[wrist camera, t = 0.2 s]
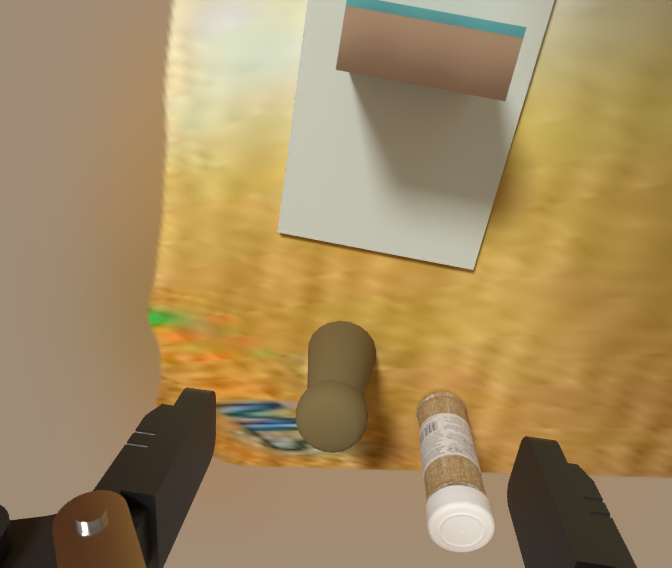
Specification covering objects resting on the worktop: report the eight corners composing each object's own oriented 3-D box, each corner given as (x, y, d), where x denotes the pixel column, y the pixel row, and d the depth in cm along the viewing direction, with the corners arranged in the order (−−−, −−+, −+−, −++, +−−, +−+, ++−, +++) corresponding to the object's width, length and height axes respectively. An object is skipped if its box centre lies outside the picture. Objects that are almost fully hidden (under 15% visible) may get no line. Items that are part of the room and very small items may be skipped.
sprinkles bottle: (436, 437, 48) (454, 565, 35) (405, 405, 47) (413, 525, 34) (476, 413, 46) (510, 537, 34) (446, 379, 45) (469, 495, 33)
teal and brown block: (357, 15, 34) (347, -6, 25) (488, 40, 34) (526, 27, 25) (348, 70, 36) (335, 69, 26) (474, 94, 35) (505, 101, 26)
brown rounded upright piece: (304, 322, 44) (280, 396, 34) (373, 319, 43) (370, 394, 33) (311, 381, 46) (291, 466, 36) (377, 379, 46) (375, 466, 36)
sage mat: (323, -112, 32) (322, -114, 32) (572, -67, 32) (575, -69, 31) (278, 230, 41) (277, 232, 41) (472, 267, 41) (473, 270, 40)
